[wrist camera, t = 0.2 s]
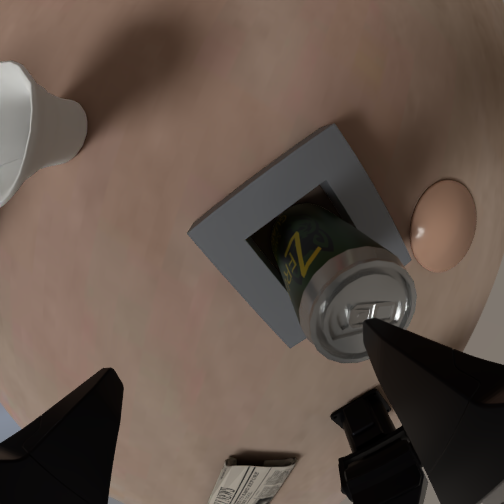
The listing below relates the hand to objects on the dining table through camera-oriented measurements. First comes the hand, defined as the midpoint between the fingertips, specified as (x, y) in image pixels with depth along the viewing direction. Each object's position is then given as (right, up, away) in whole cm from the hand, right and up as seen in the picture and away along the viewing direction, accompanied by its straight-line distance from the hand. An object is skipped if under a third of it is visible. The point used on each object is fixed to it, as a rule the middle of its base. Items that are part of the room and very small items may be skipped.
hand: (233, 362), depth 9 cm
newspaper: (-2, -40, +29) cm, 50 cm away
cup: (-15, +13, +9) cm, 22 cm away
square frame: (+5, +5, +13) cm, 15 cm away
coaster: (+19, +6, +14) cm, 24 cm away
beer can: (+5, +5, +13) cm, 15 cm away
